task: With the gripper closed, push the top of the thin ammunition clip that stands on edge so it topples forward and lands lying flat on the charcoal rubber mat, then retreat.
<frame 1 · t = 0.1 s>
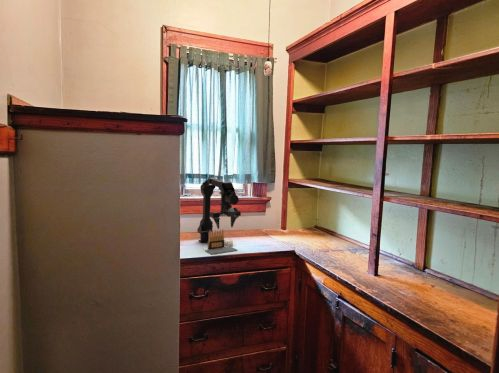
hand: (225, 228, 191), 15 cm above the worktop, fingers open, 9 cm apart
ammunition clip: (216, 248, 199), on the worktop
mat: (221, 250, 194), on the worktop
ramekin: (228, 245, 207), on the worktop
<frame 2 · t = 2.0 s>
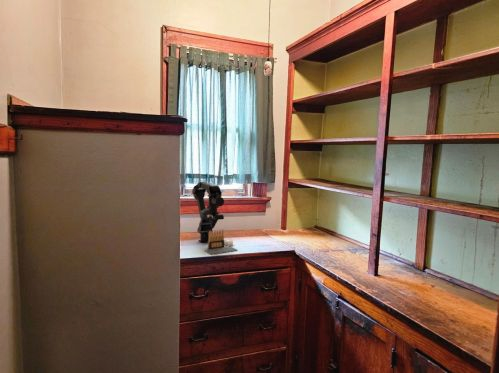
hand: (212, 228, 203), 12 cm above the worktop, fingers closed
nothing on the worktop moved.
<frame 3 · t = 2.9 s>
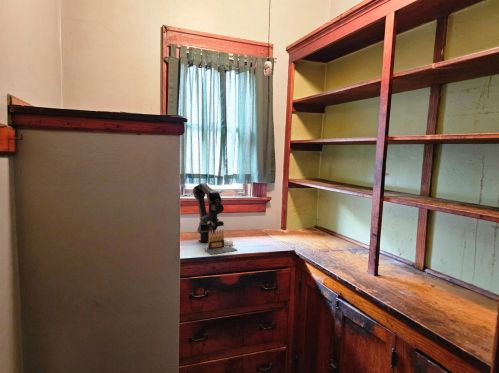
hand: (212, 234, 203), 8 cm above the worktop, fingers closed
nothing on the worktop moved.
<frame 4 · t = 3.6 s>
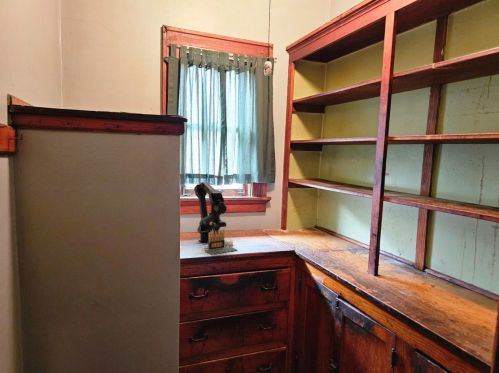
hand: (215, 235, 200), 8 cm above the worktop, fingers closed
ammunition clip: (216, 248, 199), on the worktop, touching gripper
everything else where it was.
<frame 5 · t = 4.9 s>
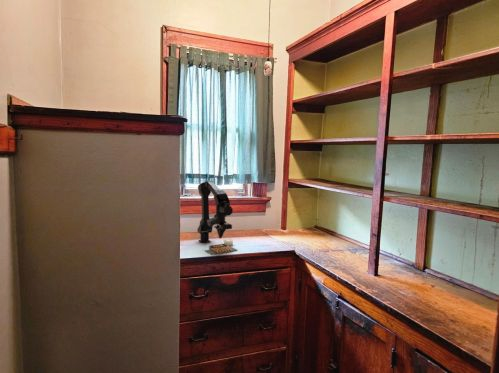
hand: (220, 238, 194), 8 cm above the worktop, fingers closed
ammunition clip: (216, 245, 198), point 2 cm above the worktop, touching mat
everything else where it was.
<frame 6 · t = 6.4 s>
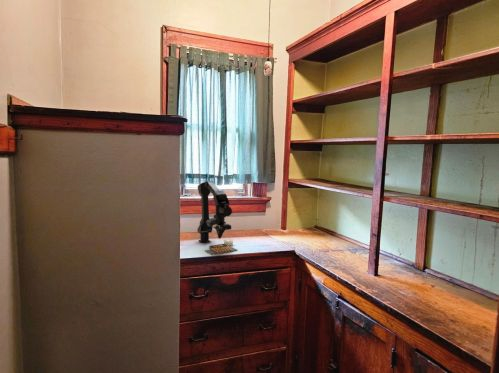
hand: (219, 238, 195), 7 cm above the worktop, fingers closed
nothing on the worktop moved.
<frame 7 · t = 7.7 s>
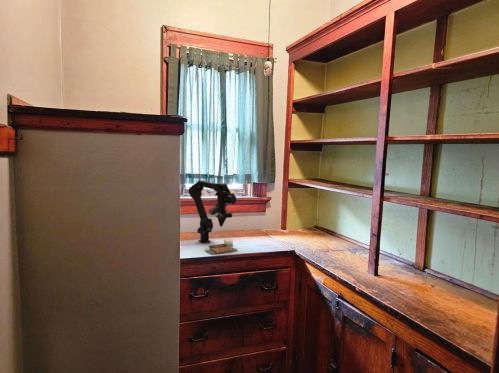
hand: (221, 226, 206), 12 cm above the worktop, fingers closed
nothing on the worktop moved.
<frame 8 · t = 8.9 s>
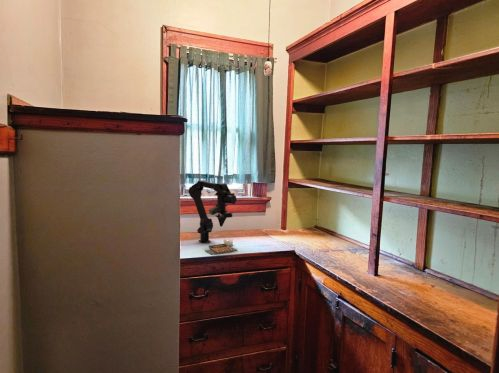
hand: (221, 226, 206), 13 cm above the worktop, fingers closed
nothing on the worktop moved.
at the end: ammunition clip tilted 92°; ammunition clip inside the target area (7.3 cm from its centre), point 1.7 cm above the worktop; the gripper is holding nothing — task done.
